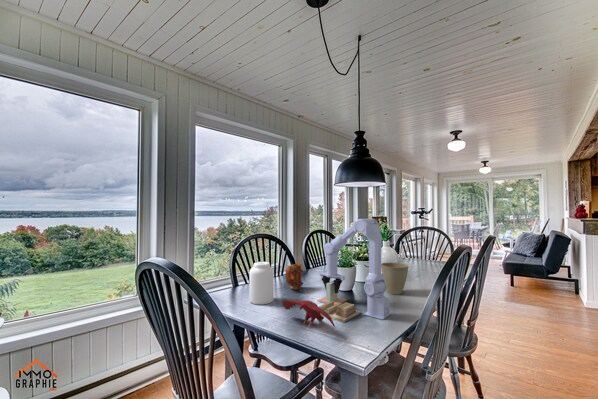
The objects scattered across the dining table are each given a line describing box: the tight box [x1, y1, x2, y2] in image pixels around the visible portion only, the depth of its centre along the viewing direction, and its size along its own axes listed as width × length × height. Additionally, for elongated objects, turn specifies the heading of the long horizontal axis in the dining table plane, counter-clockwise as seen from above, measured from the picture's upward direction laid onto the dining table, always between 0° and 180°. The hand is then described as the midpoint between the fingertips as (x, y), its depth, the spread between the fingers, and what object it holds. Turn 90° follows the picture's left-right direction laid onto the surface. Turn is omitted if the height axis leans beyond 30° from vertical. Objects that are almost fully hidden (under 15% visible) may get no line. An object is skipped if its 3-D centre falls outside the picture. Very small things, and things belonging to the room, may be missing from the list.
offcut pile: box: [336, 302, 357, 318], centre depth 133 cm, size 5×9×3 cm, turn 139°
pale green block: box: [325, 280, 339, 302], centre depth 154 cm, size 2×7×9 cm, turn 139°
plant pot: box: [381, 262, 409, 296], centre depth 168 cm, size 15×15×16 cm
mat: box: [316, 296, 348, 305], centre depth 154 cm, size 11×11×1 cm
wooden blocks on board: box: [318, 301, 361, 323], centre depth 136 cm, size 16×14×3 cm
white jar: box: [249, 261, 275, 305], centre depth 154 cm, size 12×12×20 cm
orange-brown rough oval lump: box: [285, 263, 304, 290], centre depth 175 cm, size 15×8×15 cm, turn 149°
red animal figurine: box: [282, 299, 336, 328], centre depth 123 cm, size 28×9×15 cm
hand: (332, 291), depth 154 cm, fingers open, 5 cm apart
